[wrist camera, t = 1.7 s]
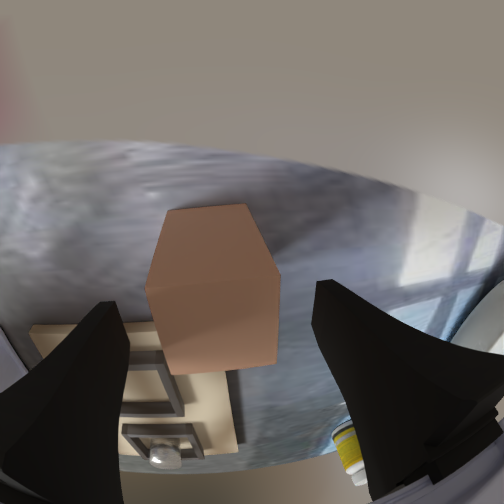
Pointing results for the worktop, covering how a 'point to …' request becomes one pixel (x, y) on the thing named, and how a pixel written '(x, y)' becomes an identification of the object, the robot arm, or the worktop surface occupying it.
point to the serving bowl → (484, 324)
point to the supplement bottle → (350, 452)
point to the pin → (165, 453)
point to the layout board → (162, 398)
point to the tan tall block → (214, 291)
